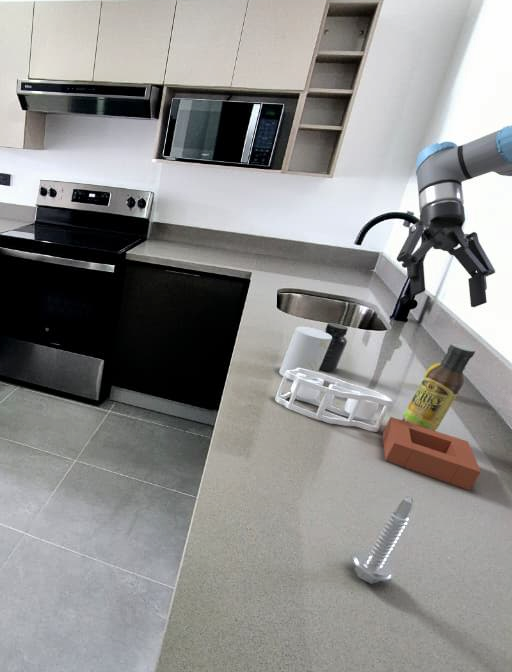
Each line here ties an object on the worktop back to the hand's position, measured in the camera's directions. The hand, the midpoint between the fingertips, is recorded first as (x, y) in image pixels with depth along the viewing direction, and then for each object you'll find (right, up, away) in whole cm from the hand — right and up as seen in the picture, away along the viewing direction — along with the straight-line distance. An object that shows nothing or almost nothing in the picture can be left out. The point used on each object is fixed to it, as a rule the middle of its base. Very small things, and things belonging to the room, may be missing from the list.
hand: (448, 299), depth 104 cm
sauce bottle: (-4, -28, +3) cm, 29 cm away
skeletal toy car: (-23, -24, +5) cm, 34 cm away
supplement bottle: (-8, -14, +32) cm, 36 cm away
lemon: (+18, -20, +27) cm, 39 cm away
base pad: (-12, -32, -8) cm, 35 cm away
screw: (-43, -42, -39) cm, 71 cm away
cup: (-20, -17, +23) cm, 34 cm away
